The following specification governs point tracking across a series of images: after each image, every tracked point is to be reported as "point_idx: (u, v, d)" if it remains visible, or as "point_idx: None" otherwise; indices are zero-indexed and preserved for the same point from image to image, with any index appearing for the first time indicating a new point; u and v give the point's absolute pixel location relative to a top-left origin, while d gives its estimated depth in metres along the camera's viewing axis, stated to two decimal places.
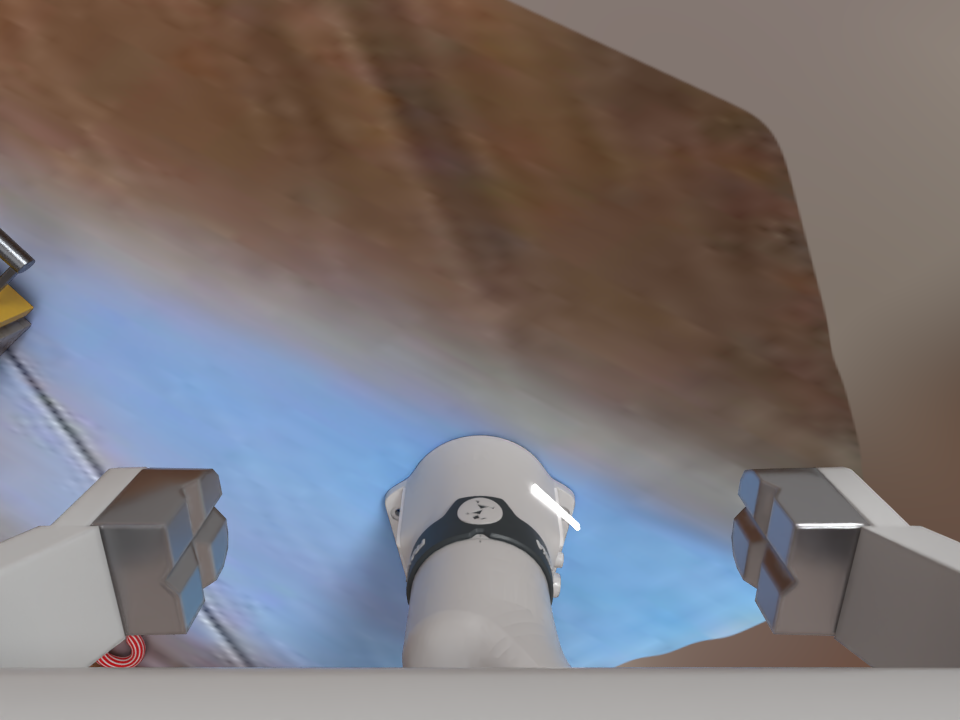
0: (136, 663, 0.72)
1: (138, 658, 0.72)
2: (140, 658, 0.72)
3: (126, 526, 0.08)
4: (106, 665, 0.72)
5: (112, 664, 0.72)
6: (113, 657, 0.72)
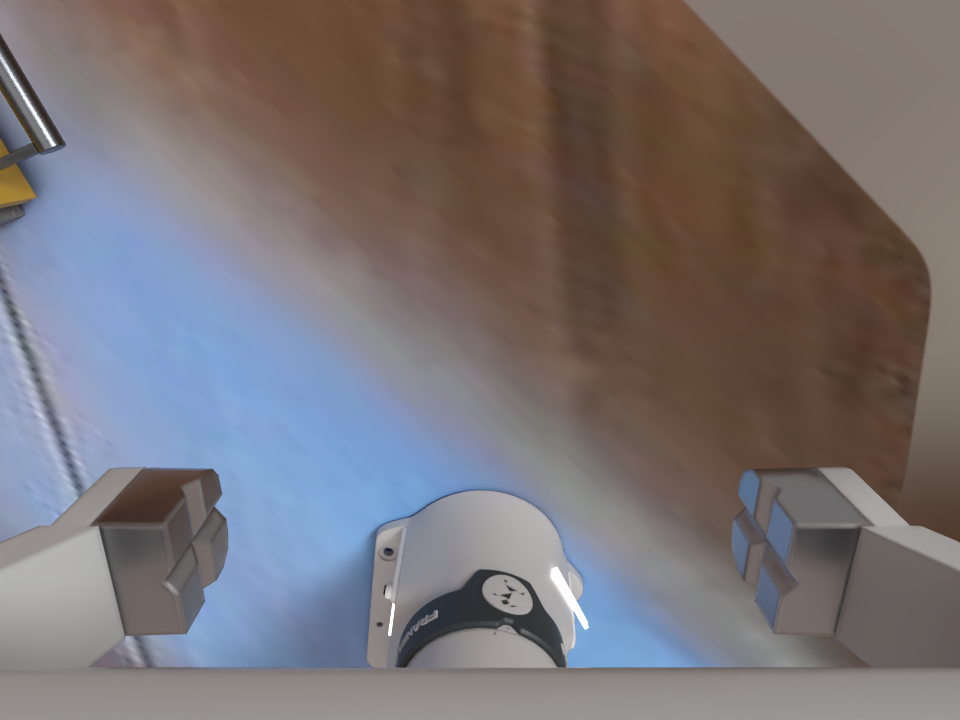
0: None
1: None
2: None
3: (126, 526, 0.08)
4: None
5: None
6: None
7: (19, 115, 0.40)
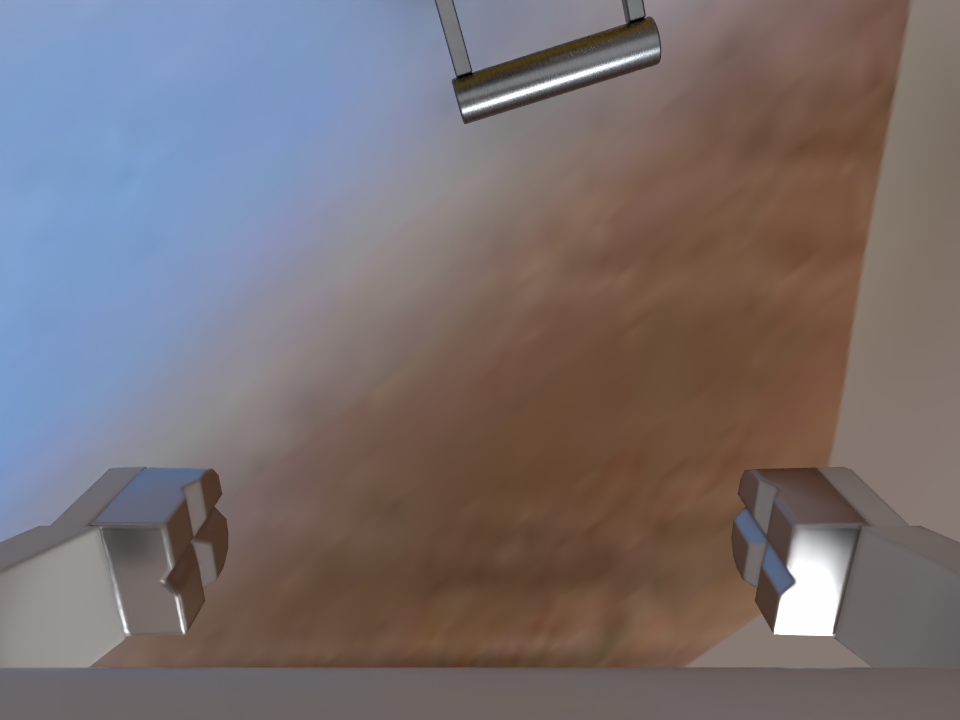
0: None
1: None
2: None
3: (126, 526, 0.08)
4: None
5: None
6: None
7: (517, 74, 0.23)
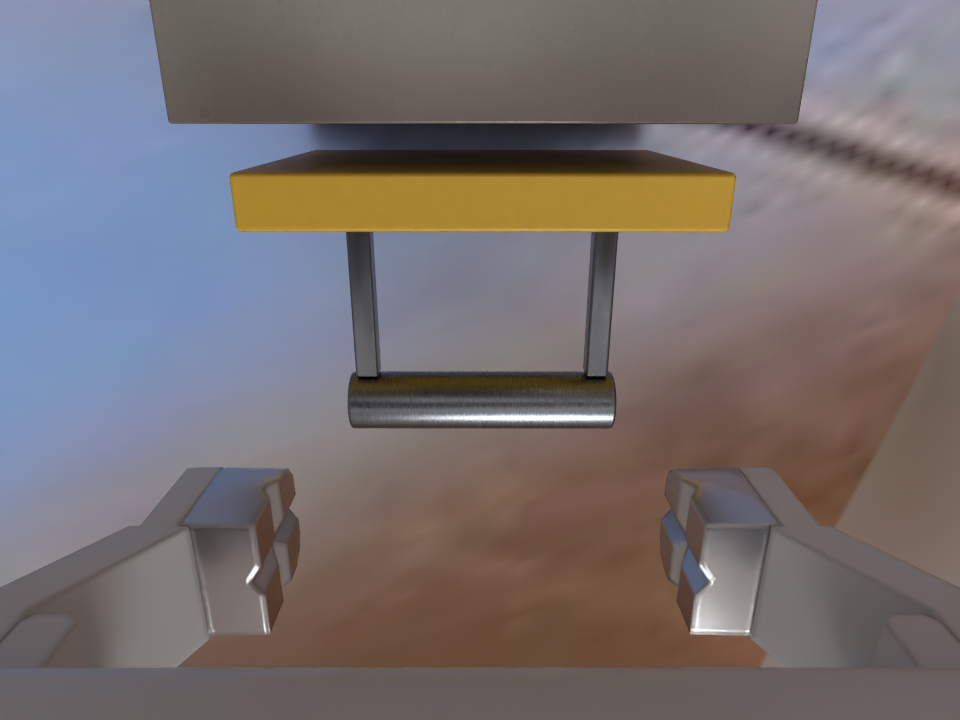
0: None
1: None
2: None
3: (215, 526, 0.08)
4: None
5: None
6: None
7: (431, 401, 0.18)
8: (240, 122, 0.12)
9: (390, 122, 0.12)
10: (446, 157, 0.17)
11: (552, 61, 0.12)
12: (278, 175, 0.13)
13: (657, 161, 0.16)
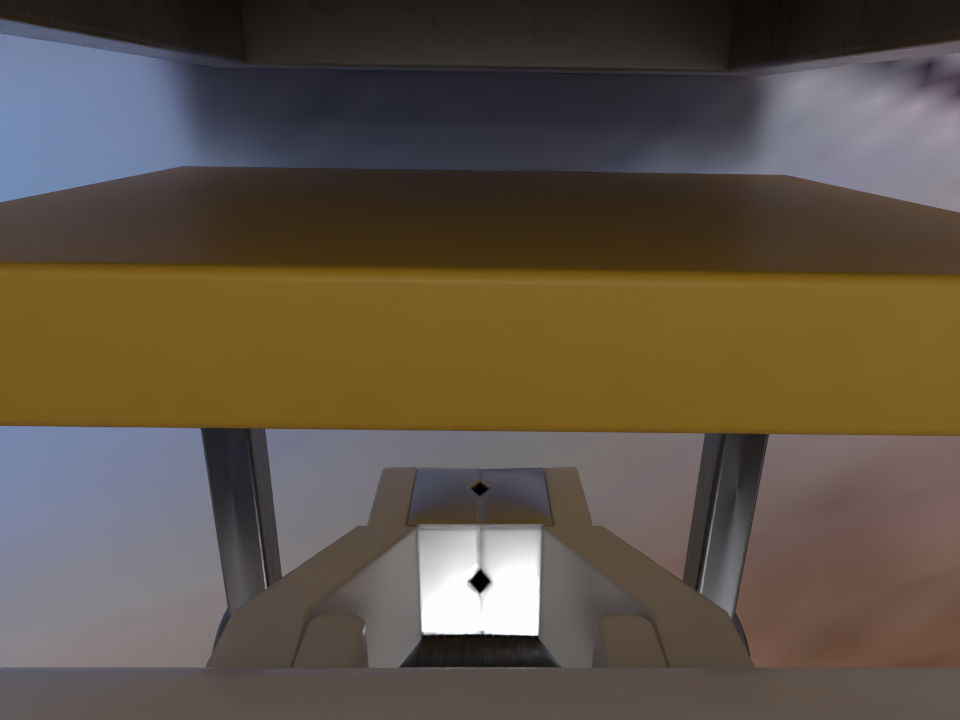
0: None
1: None
2: None
3: (441, 526, 0.08)
4: None
5: None
6: None
7: None
8: None
9: None
10: (413, 191, 0.08)
11: None
12: None
13: (889, 212, 0.07)
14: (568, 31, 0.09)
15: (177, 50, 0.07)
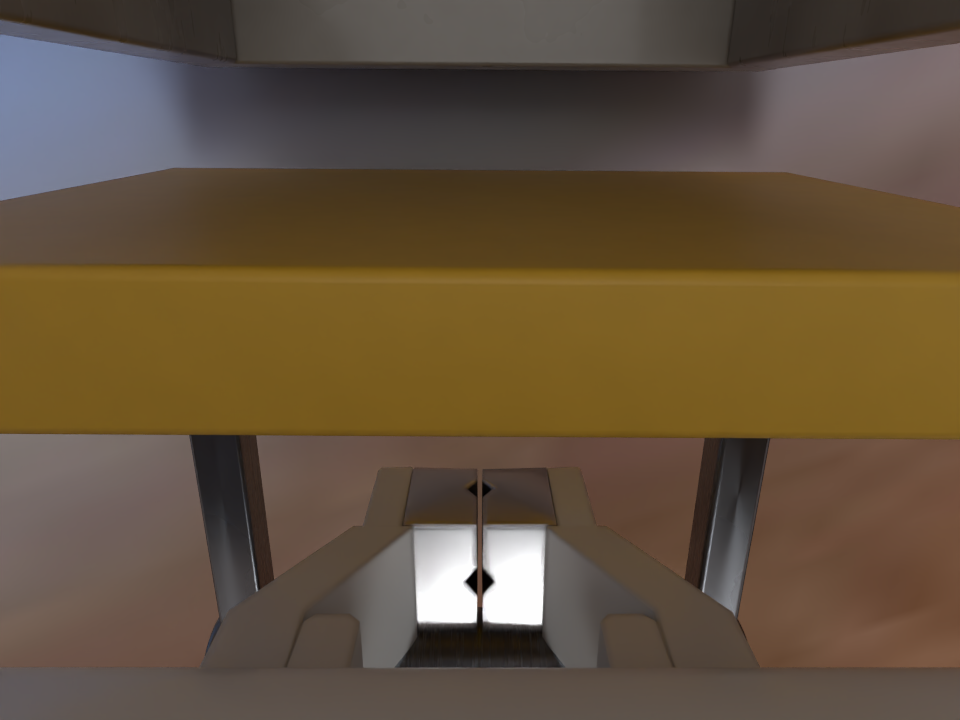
0: None
1: None
2: None
3: (436, 526, 0.08)
4: None
5: None
6: None
7: None
8: None
9: None
10: (405, 190, 0.08)
11: None
12: None
13: (892, 208, 0.07)
14: (563, 28, 0.09)
15: (162, 48, 0.07)
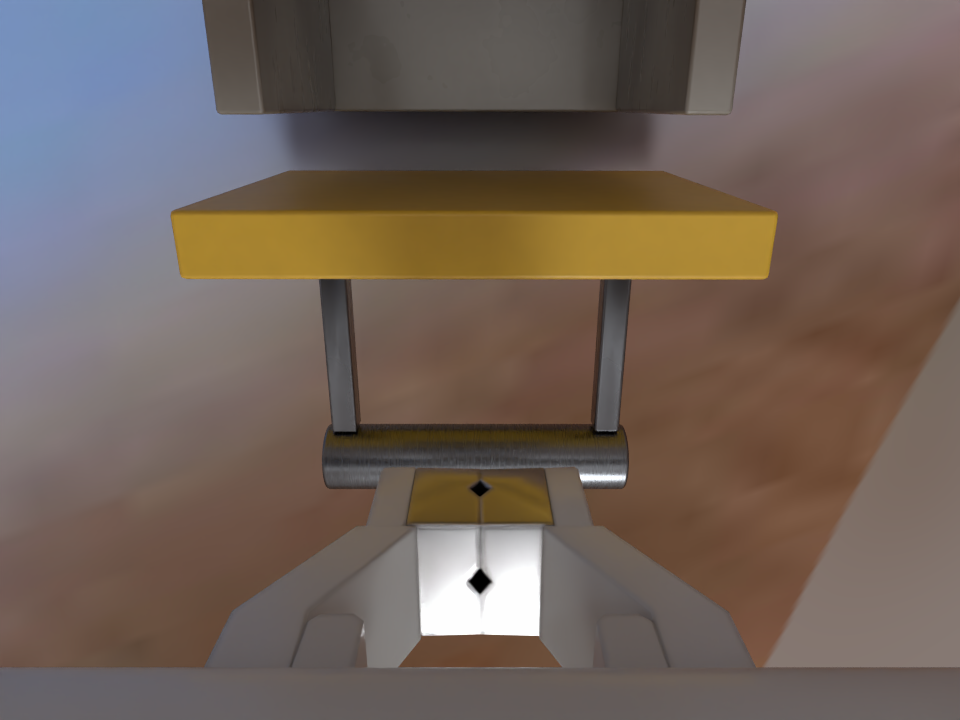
0: None
1: None
2: None
3: (440, 526, 0.08)
4: None
5: None
6: None
7: (417, 461, 0.16)
8: None
9: None
10: (434, 183, 0.15)
11: None
12: (229, 213, 0.11)
13: (678, 190, 0.14)
14: (522, 89, 0.16)
15: (313, 111, 0.14)
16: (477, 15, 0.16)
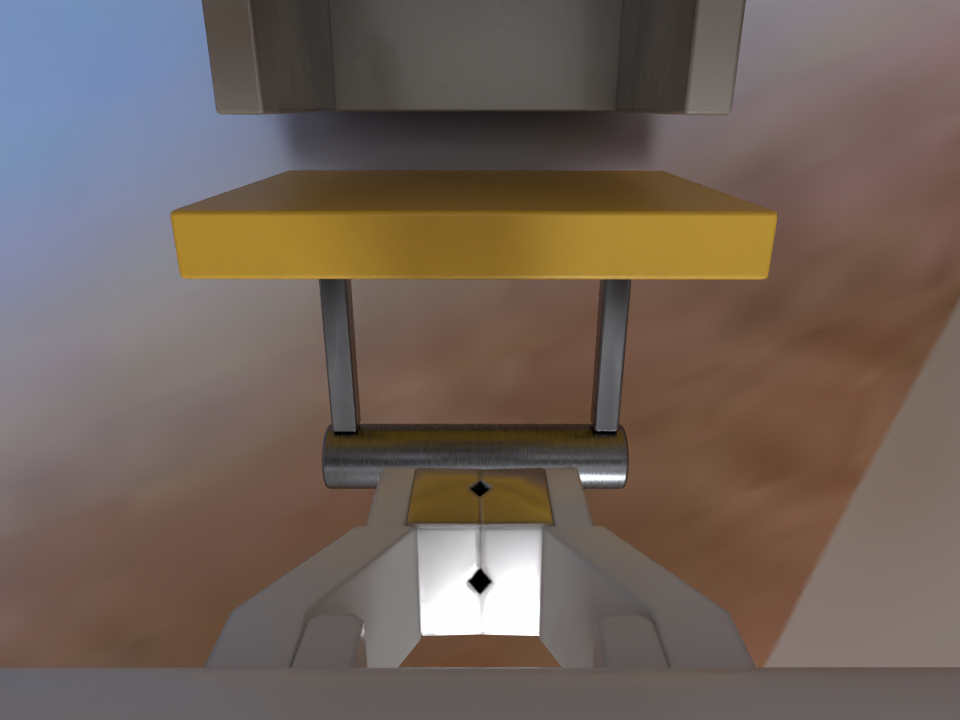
0: None
1: None
2: None
3: (440, 526, 0.08)
4: None
5: None
6: None
7: (417, 461, 0.16)
8: None
9: None
10: (434, 183, 0.15)
11: None
12: (229, 213, 0.11)
13: (678, 190, 0.14)
14: (522, 90, 0.16)
15: (313, 111, 0.14)
16: (477, 15, 0.16)
